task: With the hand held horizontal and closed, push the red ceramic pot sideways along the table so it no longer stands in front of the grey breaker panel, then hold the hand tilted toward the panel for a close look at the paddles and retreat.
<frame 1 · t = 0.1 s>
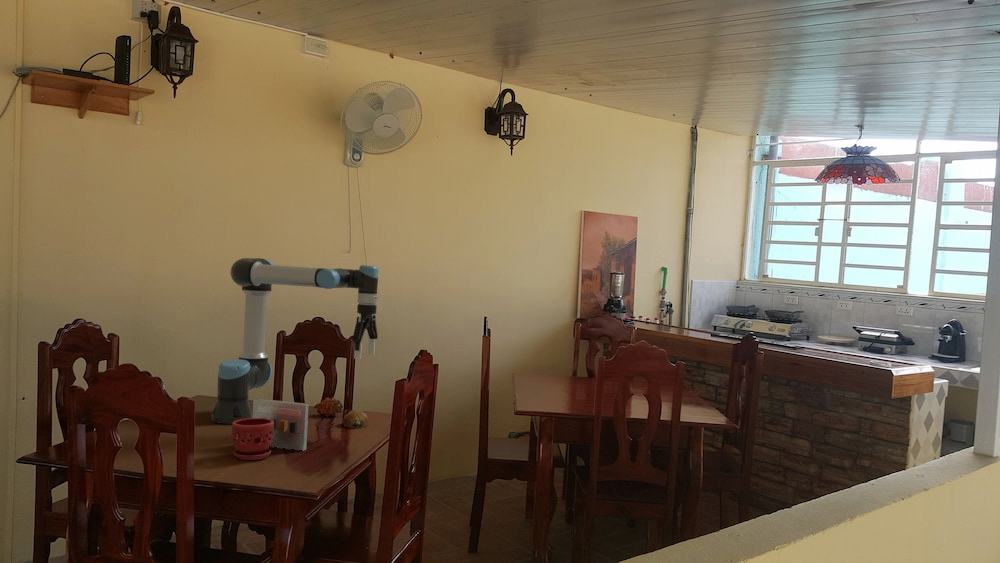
hand: (364, 356, 288), 28 cm above the table, tool pointing down, fingers open, 13 cm apart
plant pot: (251, 457, 238), on the table
breaker panel: (278, 447, 251), on the table
cord coil: (245, 445, 250), on the table
dragon fruit: (328, 416, 303), on the table
bread roll: (355, 426, 289), on the table
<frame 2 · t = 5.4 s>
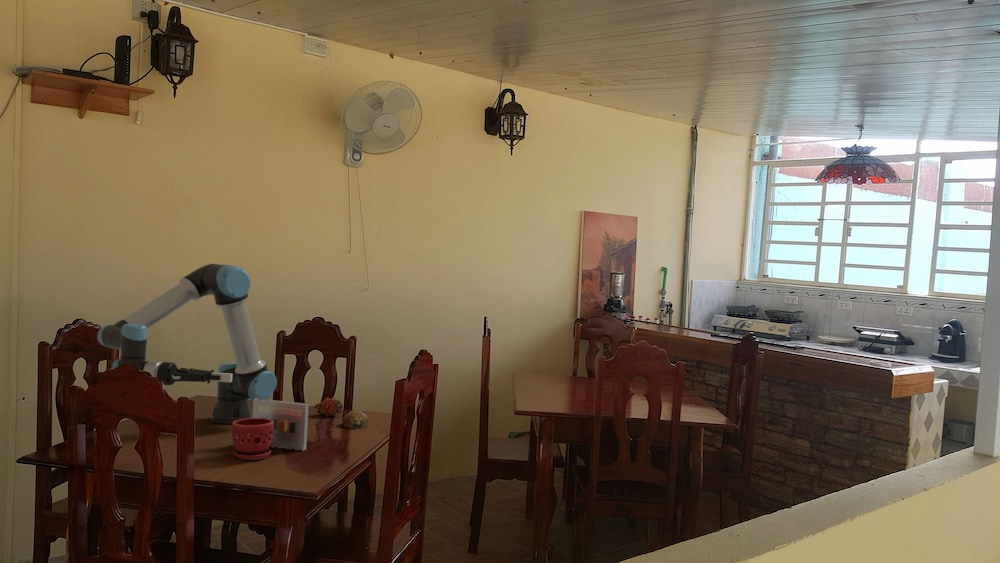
hand: (231, 377, 237), 26 cm above the table, tool horizontal, fingers closed
nothing on the table moved.
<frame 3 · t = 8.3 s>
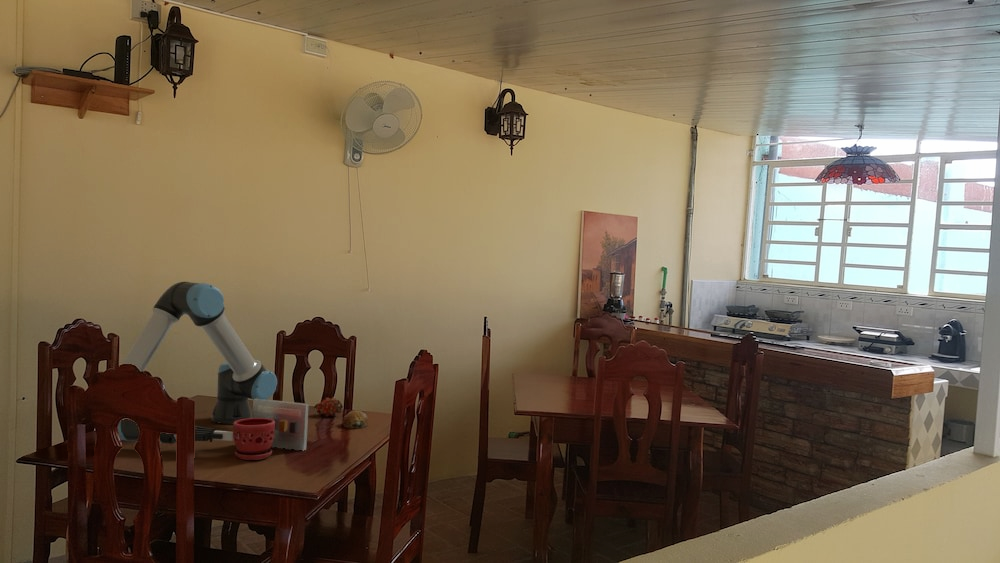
hand: (233, 436, 237), 6 cm above the table, tool horizontal, fingers closed
plant pot: (252, 457, 237), on the table, touching gripper
everything else where it was.
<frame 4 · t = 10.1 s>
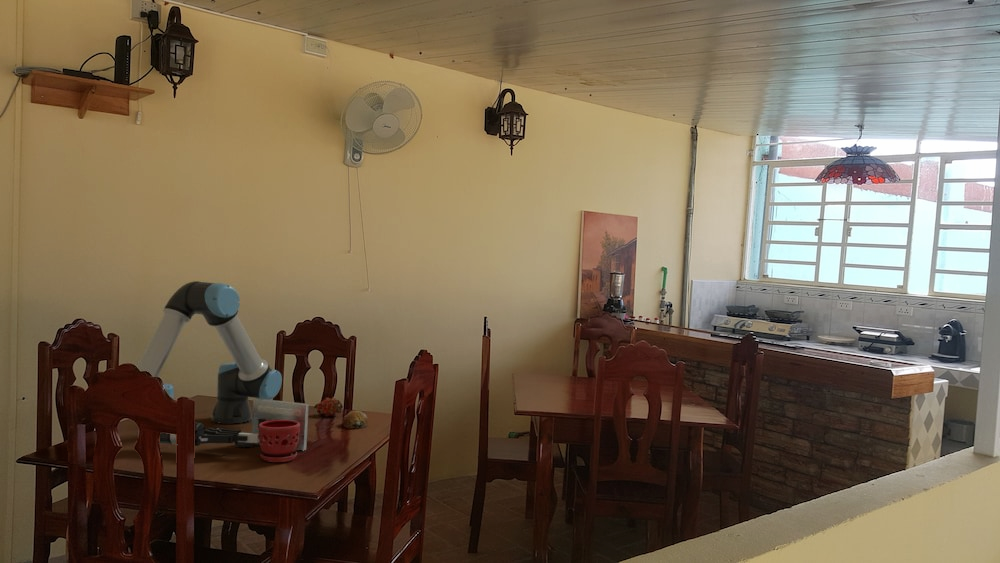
hand: (258, 438, 236), 6 cm above the table, tool horizontal, fingers closed
plant pot: (277, 459, 237), on the table, touching gripper
everything else where it was.
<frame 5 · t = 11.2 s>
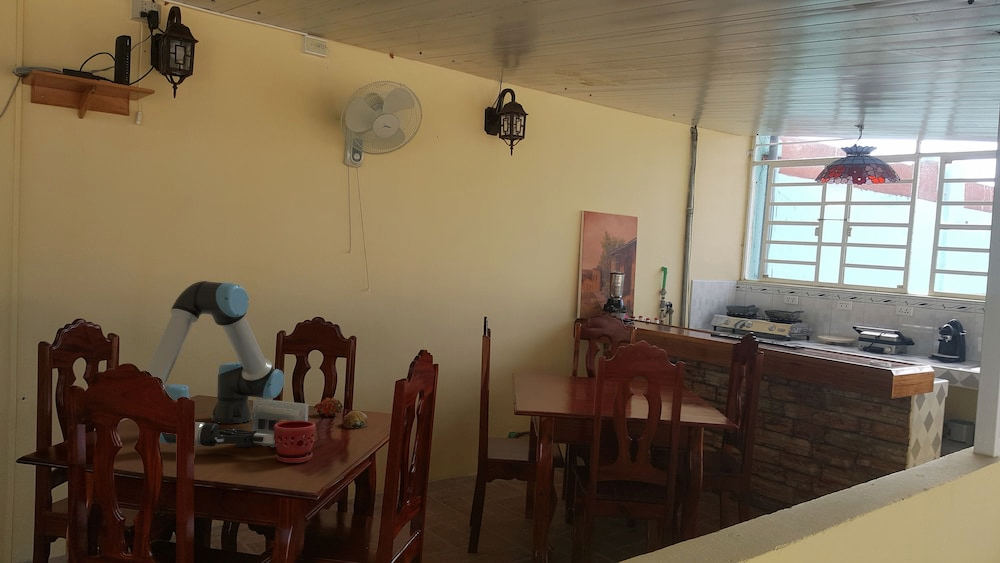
hand: (274, 439, 236), 7 cm above the table, tool horizontal, fingers closed
plant pot: (293, 460, 237), on the table, touching gripper
everything else where it was.
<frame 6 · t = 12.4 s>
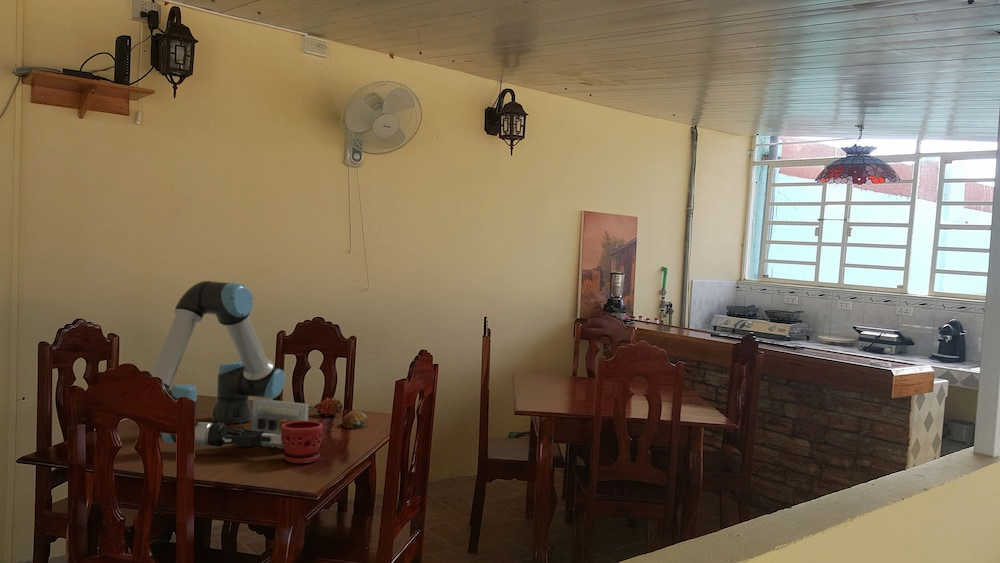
hand: (281, 439, 237), 7 cm above the table, tool horizontal, fingers closed
plant pot: (300, 460, 237), on the table, touching gripper
everything else where it was.
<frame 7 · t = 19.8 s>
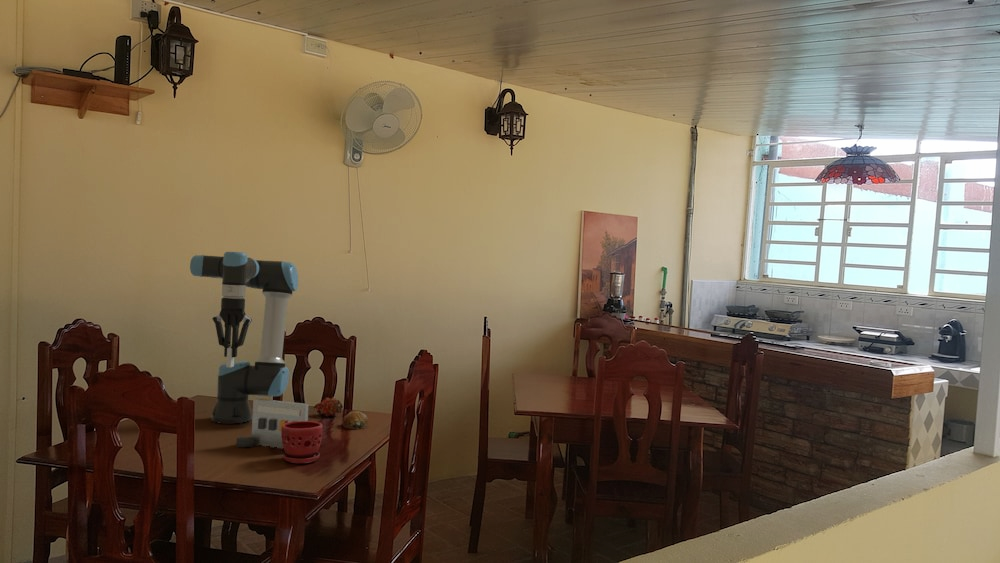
hand: (230, 366, 243), 28 cm above the table, tool pointing down, fingers closed
plant pot: (300, 460, 237), on the table
at the end: plant pot inside the target area (1.6 cm from its centre), on the table; plant pot tilted 0°; plant pot touching table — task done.
